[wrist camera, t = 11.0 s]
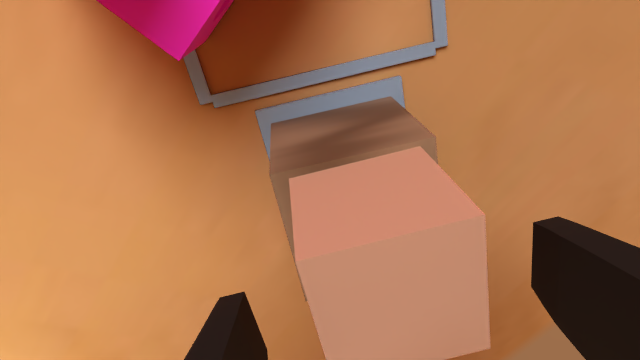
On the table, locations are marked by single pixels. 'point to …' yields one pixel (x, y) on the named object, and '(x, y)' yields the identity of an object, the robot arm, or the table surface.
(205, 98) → the frame
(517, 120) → the table surface
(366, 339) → the terracotta block
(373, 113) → the walnut cube
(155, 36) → the toy block
